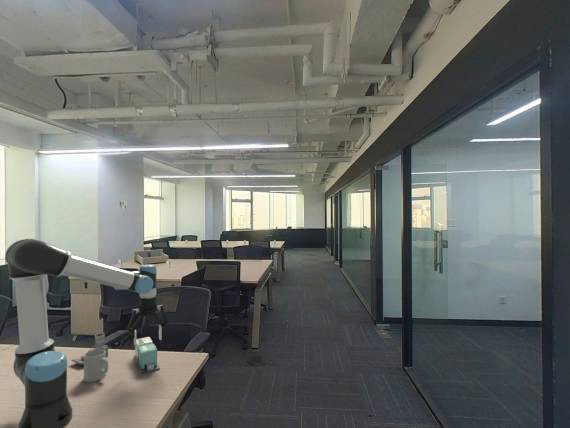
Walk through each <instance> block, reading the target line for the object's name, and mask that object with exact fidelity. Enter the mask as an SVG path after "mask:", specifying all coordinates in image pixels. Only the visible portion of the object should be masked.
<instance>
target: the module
mask: <svg viewBox="0 0 570 428" xmlns="http://www.w3.org/2000/svg"><path fill="white" fill-rule="evenodd" d="M150 363H153V364H154V366H156V365H157V364H158V348H157V346H156V345H155V343H153V344H150V345H145V346H141V347H139V365H140V367H141V369H144V368H145V365H146V364H150Z"/></svg>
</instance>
